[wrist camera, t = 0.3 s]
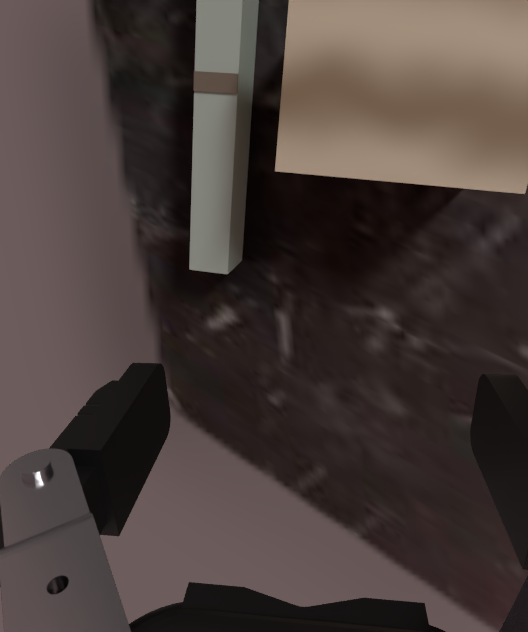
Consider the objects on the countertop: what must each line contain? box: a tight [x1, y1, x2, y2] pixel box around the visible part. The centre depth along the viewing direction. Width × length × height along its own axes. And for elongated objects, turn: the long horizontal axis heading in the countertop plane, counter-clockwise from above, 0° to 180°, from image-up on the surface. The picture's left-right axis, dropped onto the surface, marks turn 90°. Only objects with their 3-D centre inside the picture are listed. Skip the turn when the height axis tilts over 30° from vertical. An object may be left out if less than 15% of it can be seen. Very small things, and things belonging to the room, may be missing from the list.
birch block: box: [275, 0, 528, 194], centre depth 29 cm, size 10×13×12 cm
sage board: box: [189, 0, 259, 274], centre depth 34 cm, size 26×3×5 cm, turn 176°
